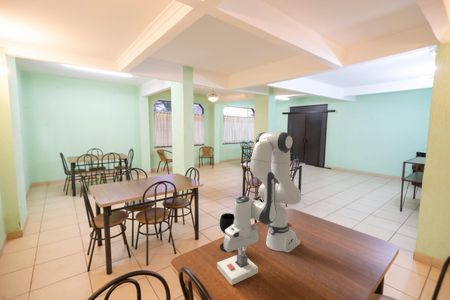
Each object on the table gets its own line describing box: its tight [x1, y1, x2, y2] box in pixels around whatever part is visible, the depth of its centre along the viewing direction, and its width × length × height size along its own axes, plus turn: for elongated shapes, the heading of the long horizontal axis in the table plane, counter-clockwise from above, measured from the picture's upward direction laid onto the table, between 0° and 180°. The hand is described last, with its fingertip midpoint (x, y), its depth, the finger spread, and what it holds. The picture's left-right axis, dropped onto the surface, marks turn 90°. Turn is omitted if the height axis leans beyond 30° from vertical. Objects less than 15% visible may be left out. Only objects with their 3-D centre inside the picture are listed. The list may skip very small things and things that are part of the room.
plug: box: [236, 253, 249, 268], centre depth 108 cm, size 4×4×7 cm
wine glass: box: [219, 212, 235, 253], centre depth 127 cm, size 10×10×20 cm
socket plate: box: [216, 254, 259, 286], centre depth 107 cm, size 16×14×4 cm
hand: (241, 253), depth 108 cm, fingers closed
